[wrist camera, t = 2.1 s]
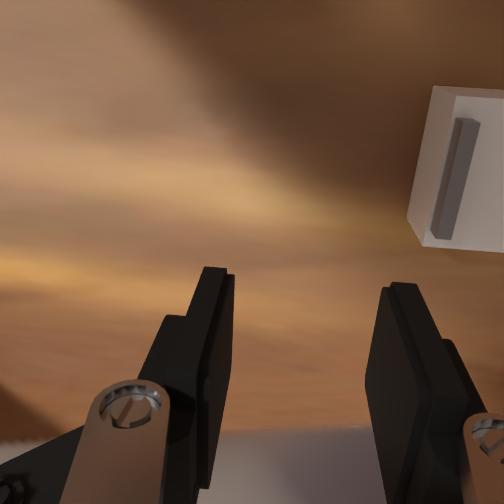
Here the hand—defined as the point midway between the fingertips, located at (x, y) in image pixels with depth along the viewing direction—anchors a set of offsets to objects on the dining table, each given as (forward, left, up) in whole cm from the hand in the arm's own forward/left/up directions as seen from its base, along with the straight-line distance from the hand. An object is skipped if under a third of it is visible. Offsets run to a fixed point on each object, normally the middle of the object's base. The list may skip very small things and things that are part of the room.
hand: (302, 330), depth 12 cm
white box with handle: (0, +10, -19) cm, 22 cm away
